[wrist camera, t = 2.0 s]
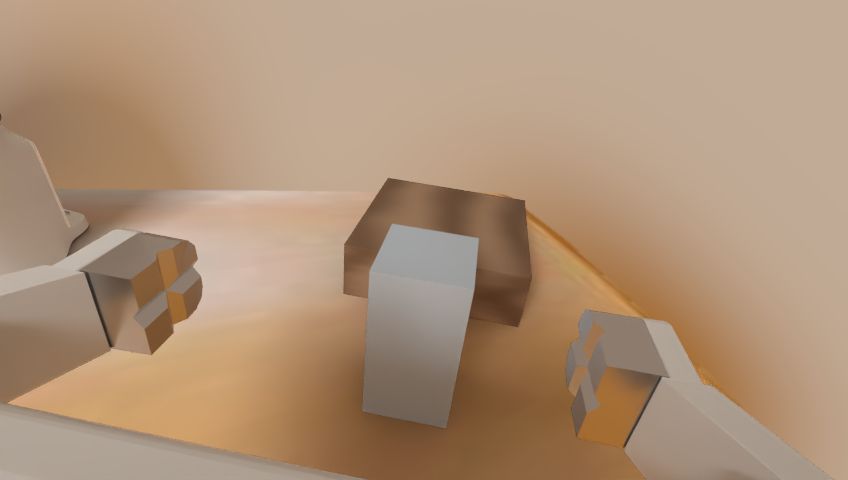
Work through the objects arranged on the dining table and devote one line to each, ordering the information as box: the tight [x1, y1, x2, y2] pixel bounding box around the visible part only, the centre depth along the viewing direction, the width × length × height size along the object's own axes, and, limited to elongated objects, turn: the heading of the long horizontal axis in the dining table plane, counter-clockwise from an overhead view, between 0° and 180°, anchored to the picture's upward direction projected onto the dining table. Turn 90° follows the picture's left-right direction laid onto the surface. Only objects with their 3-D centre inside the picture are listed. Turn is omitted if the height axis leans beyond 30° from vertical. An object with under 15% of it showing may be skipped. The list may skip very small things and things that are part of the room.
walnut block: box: [344, 178, 532, 327], centre depth 39 cm, size 14×14×5 cm
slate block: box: [362, 224, 479, 429], centre depth 25 cm, size 5×5×10 cm
